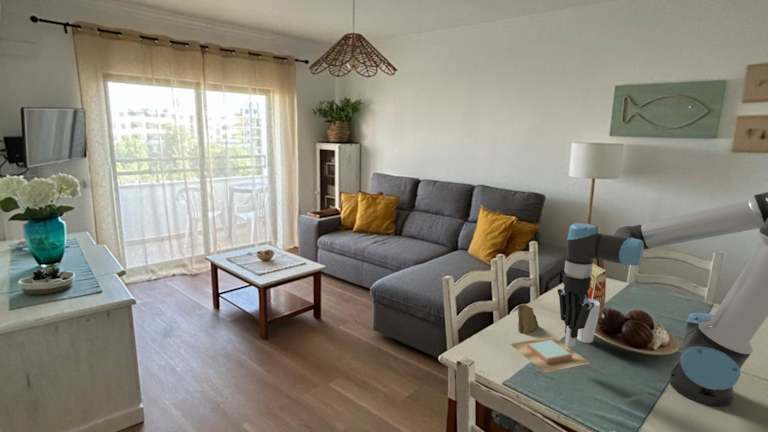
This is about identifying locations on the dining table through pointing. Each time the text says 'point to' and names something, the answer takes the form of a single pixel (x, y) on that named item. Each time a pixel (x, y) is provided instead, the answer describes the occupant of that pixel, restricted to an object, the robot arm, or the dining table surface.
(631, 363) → the dining table surface
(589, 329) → the drinking glass
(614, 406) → the dining table surface
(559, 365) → the mat
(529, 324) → the rock
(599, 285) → the milk carton
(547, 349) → the tile
